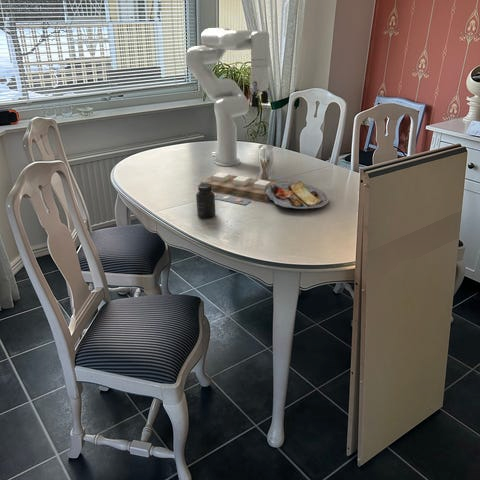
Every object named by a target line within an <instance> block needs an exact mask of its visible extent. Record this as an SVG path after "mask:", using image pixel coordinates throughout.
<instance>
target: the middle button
mask: <svg viewBox="0 0 480 480" xmlns="http://www.w3.org/2000/svg"><path fill="white" fill-rule="evenodd" d="M237 176H238V177H236V178H234V179H233V184H234V185H239V186H245V185H247V184H249V183H250V179H251V178H250V177H246V176H241V175H237Z"/></svg>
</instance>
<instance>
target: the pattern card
mask: <svg viewBox="0 0 480 480" xmlns="http://www.w3.org/2000/svg"><path fill="white" fill-rule="evenodd" d="M213 193H214V195H215V200H217V201H222V202H226V203H231V204H232V203H233V204H237V205H241V206H247V205H248V204H250V203H252V199H251V200H250V199H248V198H243V197H238V196H237V197H236V196H233V195H228V194H223V193H218V192H213Z"/></svg>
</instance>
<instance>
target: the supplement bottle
mask: <svg viewBox="0 0 480 480" xmlns="http://www.w3.org/2000/svg"><path fill="white" fill-rule="evenodd" d="M197 190H198V191H197V193H196V194H195V200H196V201H195V202H196V212H197V217H198V218H200V219H203V220H208V219H213V218H214V217H215V216H216V199H215V195H214V193H215V192H214V191H211V190H212V188H211V184H207V183H204V184H201V183H200V184H198V185H197Z"/></svg>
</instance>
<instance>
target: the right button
mask: <svg viewBox="0 0 480 480" xmlns="http://www.w3.org/2000/svg"><path fill="white" fill-rule="evenodd" d="M257 180H258V181H257V182H255V183H254V188H255V189H260V190H266V189H267V188H268V186H271V182H272V181H265V180H259V179H257Z"/></svg>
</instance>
